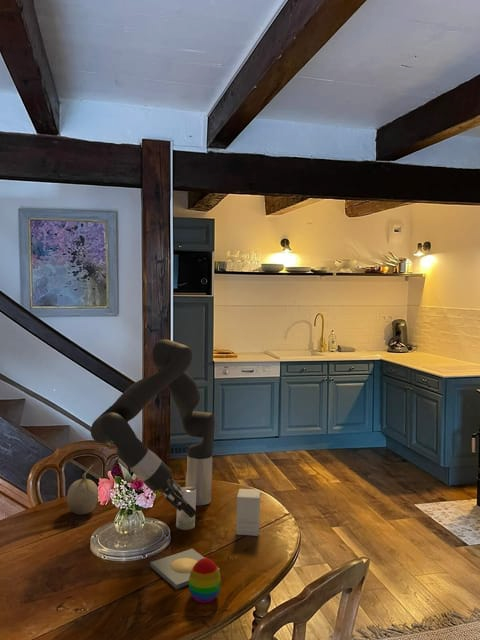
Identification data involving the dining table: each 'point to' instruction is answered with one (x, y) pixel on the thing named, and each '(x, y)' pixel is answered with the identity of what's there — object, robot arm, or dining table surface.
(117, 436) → the robot arm
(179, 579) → the flange plate
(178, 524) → the clear glass cylinder
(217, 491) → the dining table surface
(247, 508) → the supplement box
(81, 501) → the fruit
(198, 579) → the decorative egg
